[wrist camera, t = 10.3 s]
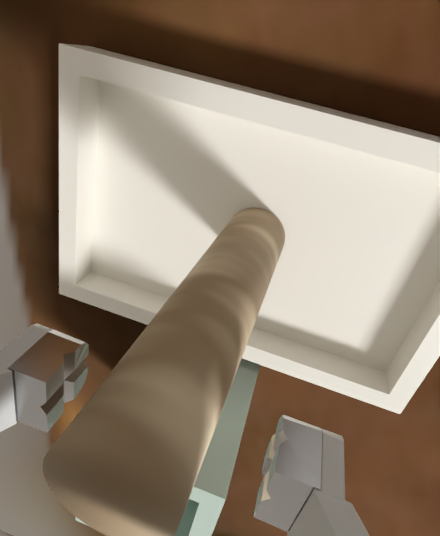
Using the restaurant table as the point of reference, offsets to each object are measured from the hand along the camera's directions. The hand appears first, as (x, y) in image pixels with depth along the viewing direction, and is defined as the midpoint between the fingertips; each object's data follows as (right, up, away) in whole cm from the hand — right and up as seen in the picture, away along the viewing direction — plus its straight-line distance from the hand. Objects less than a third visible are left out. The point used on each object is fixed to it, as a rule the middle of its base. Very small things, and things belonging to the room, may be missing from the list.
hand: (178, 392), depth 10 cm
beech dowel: (+3, +5, +9) cm, 11 cm away
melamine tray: (+3, +5, +10) cm, 12 cm away
